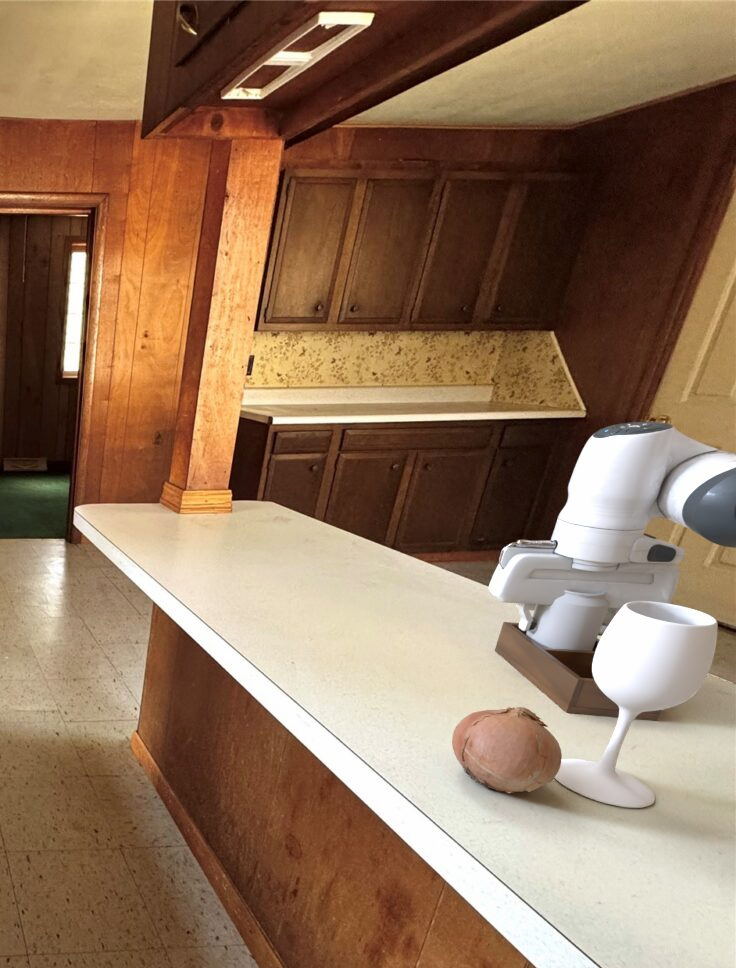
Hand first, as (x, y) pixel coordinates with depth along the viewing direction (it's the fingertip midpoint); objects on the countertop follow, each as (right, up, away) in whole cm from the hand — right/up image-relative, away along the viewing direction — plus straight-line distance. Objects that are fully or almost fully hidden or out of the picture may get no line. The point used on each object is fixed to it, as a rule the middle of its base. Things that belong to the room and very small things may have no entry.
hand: (562, 632), depth 97 cm
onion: (-28, -16, -22) cm, 39 cm away
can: (0, -5, +2) cm, 5 cm away
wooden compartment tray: (-1, -7, -2) cm, 7 cm away
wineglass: (-17, -16, -23) cm, 33 cm away
